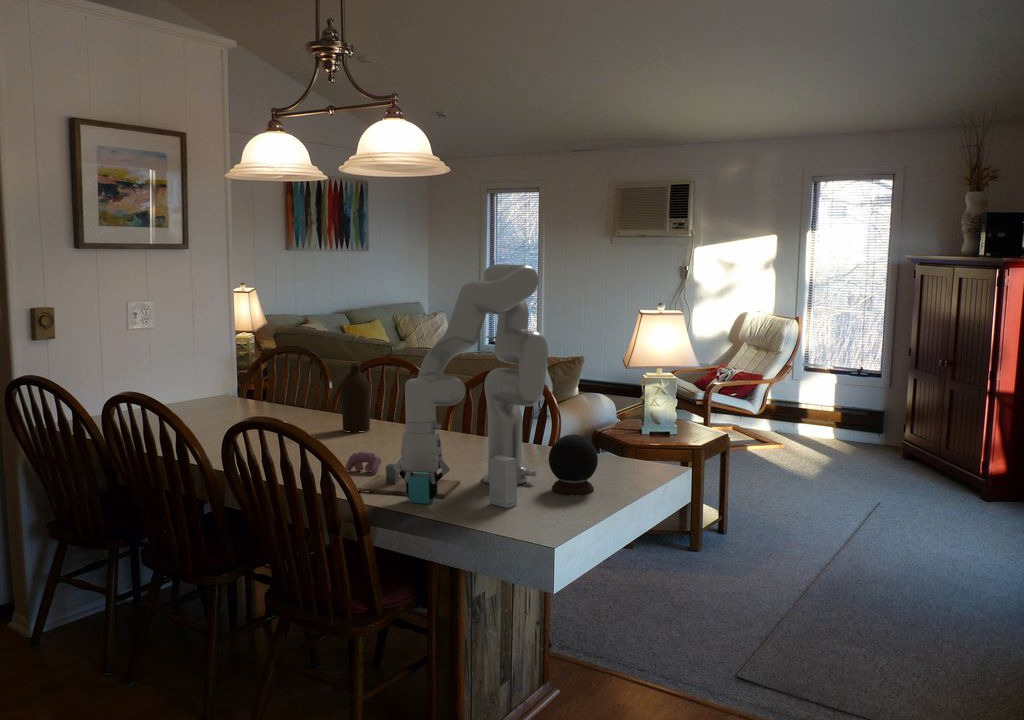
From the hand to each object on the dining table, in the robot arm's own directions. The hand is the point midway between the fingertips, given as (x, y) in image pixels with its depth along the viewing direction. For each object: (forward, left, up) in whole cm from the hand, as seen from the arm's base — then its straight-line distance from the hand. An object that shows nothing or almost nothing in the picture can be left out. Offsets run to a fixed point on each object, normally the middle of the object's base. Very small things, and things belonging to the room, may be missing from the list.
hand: (421, 496), depth 215 cm
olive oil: (+52, -79, -1) cm, 95 cm away
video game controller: (+26, -24, -2) cm, 35 cm away
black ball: (-36, -20, -1) cm, 41 cm away
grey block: (+12, -11, -1) cm, 16 cm away
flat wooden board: (+7, -11, -1) cm, 13 cm away
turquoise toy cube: (0, 0, -1) cm, 1 cm away
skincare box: (-21, -2, -1) cm, 21 cm away
